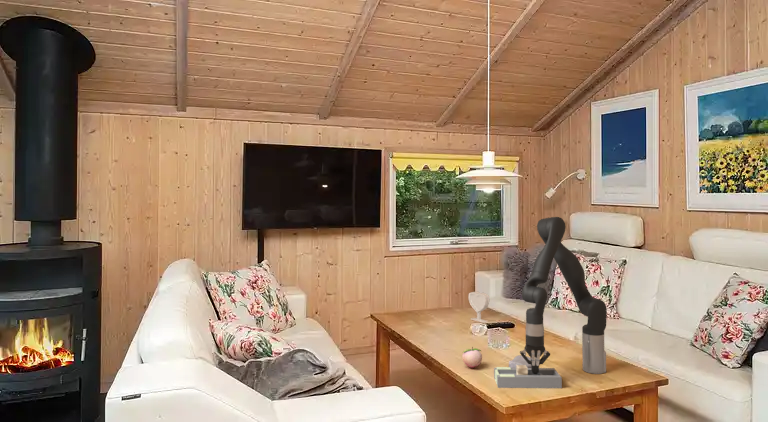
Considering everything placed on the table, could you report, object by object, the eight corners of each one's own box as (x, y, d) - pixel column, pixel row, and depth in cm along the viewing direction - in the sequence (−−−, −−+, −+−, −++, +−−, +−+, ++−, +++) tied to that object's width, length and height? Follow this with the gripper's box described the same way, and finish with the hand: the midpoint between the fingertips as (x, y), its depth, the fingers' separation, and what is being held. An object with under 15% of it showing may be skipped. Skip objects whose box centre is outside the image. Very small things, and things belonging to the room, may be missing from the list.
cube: (525, 374, 217) (525, 365, 217) (527, 377, 213) (527, 368, 213) (516, 374, 217) (516, 365, 217) (518, 377, 213) (518, 368, 213)
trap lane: (554, 378, 220) (554, 367, 220) (561, 388, 208) (561, 376, 208) (494, 377, 222) (494, 367, 222) (498, 387, 210) (497, 376, 210)
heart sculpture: (467, 318, 330) (467, 291, 330) (473, 317, 333) (472, 290, 333) (485, 323, 318) (484, 294, 317) (490, 321, 320) (490, 293, 320)
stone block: (537, 369, 237) (517, 361, 243) (538, 360, 236) (518, 352, 242) (526, 377, 228) (506, 369, 234) (528, 368, 227) (508, 359, 233)
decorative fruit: (469, 372, 229) (469, 350, 229) (459, 367, 237) (459, 346, 236) (486, 369, 233) (486, 348, 233) (476, 364, 240) (476, 343, 240)
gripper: (548, 331, 217) (548, 370, 218) (517, 330, 218) (517, 370, 219) (552, 335, 210) (553, 376, 210) (520, 335, 211) (521, 376, 211)
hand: (535, 373), depth 215 cm, fingers closed
